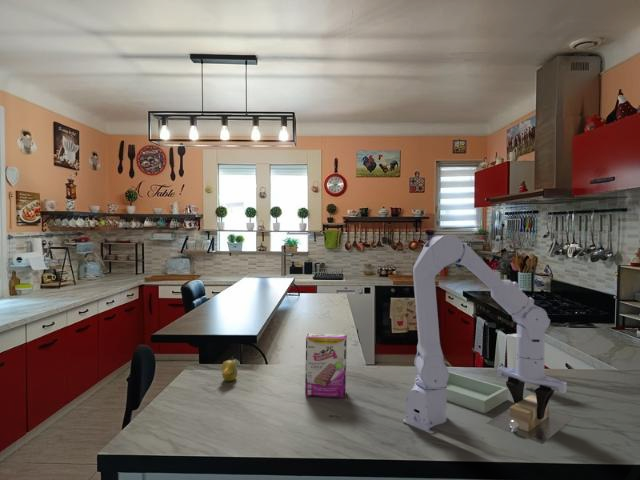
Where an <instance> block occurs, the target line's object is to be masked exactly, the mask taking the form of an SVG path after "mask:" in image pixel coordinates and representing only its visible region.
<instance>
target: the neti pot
mask: <svg viewBox="0 0 640 480" xmlns="http://www.w3.org/2000/svg"><path fill="white" fill-rule="evenodd" d="M220 369H221V372H222V378H223V380H224V381H226V382H233V381H234V380H235V379H236V378H237V376H238V368H237V364H236V359H233V360H225V361H223V362H222V364H221V368H220Z"/></svg>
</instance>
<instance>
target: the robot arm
mask: <svg viewBox="0 0 640 480" xmlns="http://www.w3.org/2000/svg"><path fill="white" fill-rule="evenodd" d="M453 263H454V264H457V265H460V266H464V267H465V268H467V270H469V271H470V272H471V273H472V274H474V275H475V276H476V277H477V278H478V279H479V280H480V281H482V283H483V284H485V285H486V286H487V287H488V288H489V289H490V297H491V298H492V299H493V300H494V301H495V302H496V303H497V304H498V305H499V306H500V307H501V308H502V309H503V310H505V311H506V313H508V315H509V316H511V318H512V321H513V322H514V323H516V334H517V354H516V369H512V368H508V367H504V366H498V367H497V369H496V372H497V373H496V376H497V377H500V378H502V377H504V378H507V381H505V385H506V388H508V392H510V395H511V397H512V400H513V403H514V404H516V403H518V402H520V401H521V400H523V399H524V390H525V389H524V384H525V382H526V383H530V384H533V385H537V386H540V387H539V388H537V389H535V390H534V391H535V395H536V398H537V419H539V420H541V419H542V418H544V413H545V410H546V406H547V404H548V402H549V403H550V400H551V397H552V395H554V392H555V391H557V392H558V393H559V394H565V393H566V392H567V391H568V390H567V387H568V386H567V385H568V384H567V382H565V381H563V380H559V379H556V378H553V377H550V376H548V375H546V374H545V332H546V330H547V329H548V328H549V326H550V323H551V319H550V318H549V316H548V313H547V311H546V310H545V309H544V308H542V307H540V306H538V305H535V299H534V298H532V297H530V296H529V297H528V295H526V293H524V291H522V290H521V289H520V284H519V283H518V282H517V281H512V280H511V279H501V278H500V277H499V275H498V274H497V273H495V272H494V270H493V269H492V268H491V267H490V266H489V265H488V264H487V263H486V262H485V261H484V260H483V259H482V258H481V257H480V256H479V255H478V254H477V253H476V252H475V251H474V250H473V249H472V248H471V247H470V246H469V245H467V244H466V243H465V242H463V241H461V239H460V238H459V237H457V236H456V235H453V234H445V235H443V234H437V235H435V236H432V237H431V238H430V239H429V240H428V241H427V242H426V243H424V244H423V248H422V250H421V252H420V254H419V255H418V257H417V258H416V261H415V263H414V265H413V267H412V278H413V292H414V302H415V303H414V304H415V315H416V316H415V317H416V327H417V329H416V330H417V340H418V341H417V345H416V355H415V357H414V362H413V363H414V364H413V365H414V367H415V370H416V371H417V373H418V374H417V375H416V377H415V378H414V385H413V387H412V388H411V389H410V390H409V391H408V392H407V393H406V394H407V395H406V398H405V399H406V400H405V401H406V402H405V404H406V405H405V409H406V411H405V414H406V415H405V418H403V419H402V421H403V423H405V424H407V425H409V426H412V427H415V428H417V429H419V430H422V432H423V431H424V432H426V433H428V434H431V435H432V434H435V433H437V431H436V430H434V429H432V428H433V427H435V426H437V425H442V424H445V422H447V409H448V408H447V407H448V405H447V403H448V401H447V381H448V379H449V372H450V371H449V369H448V367H447V365H446V364H445V360H444V353H443V349H442V347H441V340H440V328H439V317H438V301H437V292H436V291H437V288H436V276H437V275H438V274H439V273H440V272H441V271H442V270H443V269H444V268H446V267H447V266H449V265H451V264H453ZM514 404H513V405H514Z"/></svg>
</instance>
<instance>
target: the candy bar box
mask: <svg viewBox="0 0 640 480" xmlns="http://www.w3.org/2000/svg"><path fill="white" fill-rule="evenodd" d="M347 342H348V336H347V334H345V333H344V334H342V333H339V334H338V333H318V332H317V333H314V332H313V333H312V332H308V333H307V335H306V337H305V377H304V378H305V382H304V383H305V384H304V386H305V387H304V390H305V391H304V393H305V394H304V396H305V397H315V398H316V397H319V398H336V399H337V398H340V399H345V398H346V394H347V355H348V351H347V349H348V348H347V346H348V344H347Z"/></svg>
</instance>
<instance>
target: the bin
mask: <svg viewBox="0 0 640 480" xmlns="http://www.w3.org/2000/svg"><path fill="white" fill-rule="evenodd" d="M508 394H509V389H508V387H505V386H501V385H498V384H495V383H491V382H488V381H483V380H480V379H476V378H473V377H470V376H466V375H462V374H459V373H455V372H452V371H449V379H448V381H447V402H450V403H454V404H456V405H459V406H462V407H465V408H467V409H470V410H474V411H476V412H480V413H482V414H486V413H488V412H489V411H492V410H493V409H495V408H496V407H499V406H500V405H501V404H503V403H504V402H507V401H508V400H509V398H508V397H509V395H508Z"/></svg>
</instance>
